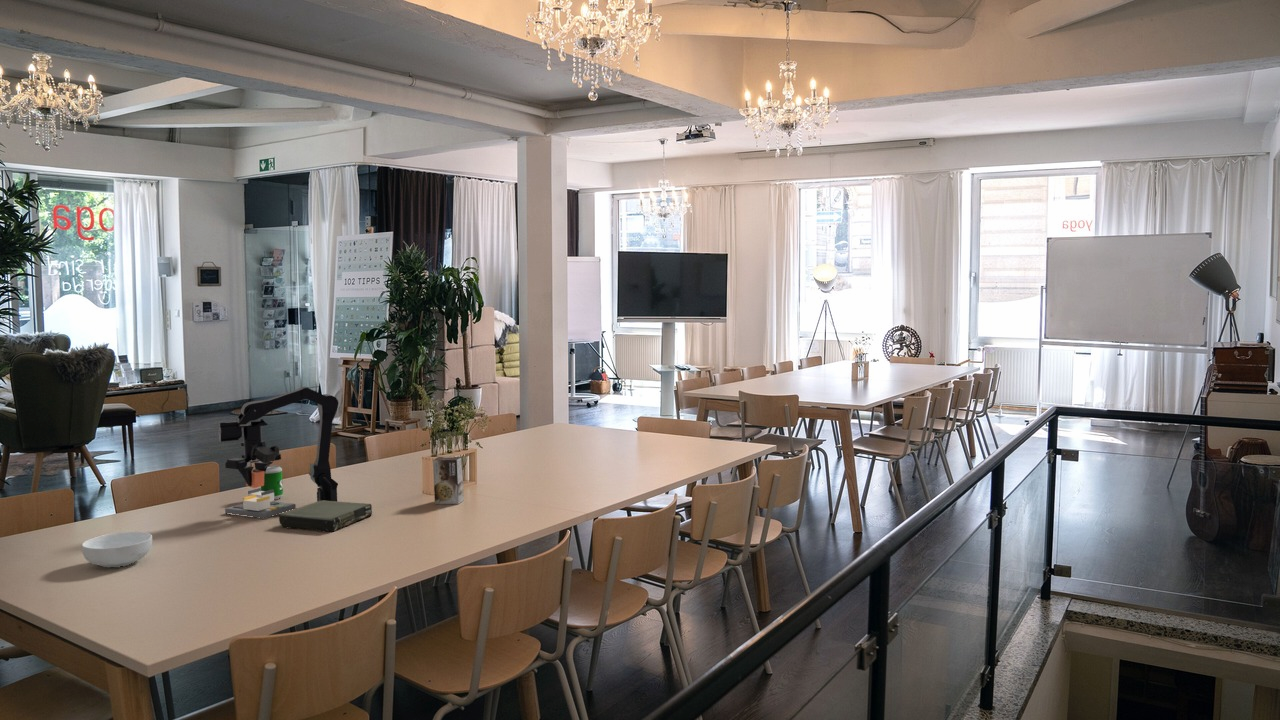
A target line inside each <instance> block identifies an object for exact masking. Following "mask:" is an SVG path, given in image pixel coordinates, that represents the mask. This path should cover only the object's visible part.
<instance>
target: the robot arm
mask: <svg viewBox="0 0 1280 720" xmlns="http://www.w3.org/2000/svg"><path fill="white" fill-rule="evenodd" d="M302 400H309V401H311V402H312V403H315V404H316V405H317V412H318V417H319V427H318V437H317V446H316V447H317V448H316V456H315V460H314V462H313V463H311V462H310V463H309V472H308V475H309V477H310V480H311V481H312V482H313V483H314V484H316V486H317V487H316V490H317V491H316V502H317V501H323V500H325V501H337V502H338V485H339V483H338V482H337V481H335V480H334V479H333V478H332V472H331V466H330V465H331V464H330V451H331V440H332V431H333V430H332V429H333V421H334V419H335V417H336V415H337V411H338V407H339V399H337V397H336V396H333V395H331V394H328V393H325V394H323V393H320V392H318V391H316V390H313V389H311V388H310V387H307V386H301V387H300V388H298V389H295V390H291V391H289V392H286V393H283V394H280V395H276V396H274V397H271V398H267V399H263V400H261V399H260V400H255V401H254V400H253V401H248V402H245V403H244V404H243V405H242V406H241V409H240V414H239V415H238V416H237V418H236V419H235V420H234V421H220V422H219V423H218V425H219V426H218V431H217V432H218V441H219V443H229V442H239V440H240V439H241V438H242V437H243V442H241V443H240V446H241V447H243V453H244V454H242V455H241V457H234V458H229V459H227V460H225V469H232V470H233V469H234V470H238V471H239V473H240V475H241V476H242V477H243V479H244V481H245V484H246V483H247V484H248V486H247V487H249V486H251V485H252V473H251V471H252V470H253V469H254V468H255V469H258V470H261V471H265V472H266V469H267V467H268V466H271V465H272V464H273V463H274V462H275V461H280V460H282V454H281V452H280V448H279V446H277V445H273V446H271V447H270V446H269V447H267V445H266V442H265V441H263V434H262V431H263V430H262V427H264V426H265V427H266V426H268V423H267V422H266V421H265V420H264V419H263V417H264V416H266V415H267V414H269V413H270V412H273V411H274V410H277V409H280V408H283V407H286V406H288V405H292V404H295V403H298V402H301V401H302ZM258 419H259V420H258ZM253 463H254V466H252V464H253ZM264 475H265V473H264Z"/></svg>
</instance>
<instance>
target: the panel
mask: <svg viewBox="0 0 1280 720" xmlns="http://www.w3.org/2000/svg"><path fill="white" fill-rule="evenodd" d="M292 509H296V503H291V502H281V501H276V500H274V501H272V502H270V508H267V509H263V510H260V511H255V510H247V509H243V503H240V504H236V505H232V506H229V507H225V508H224V512H225V513H232V514H239V515H247V516H253V517H260V518H265V519H267V518H266V517H269V516H272V515H275V516H277V515H276V514H279V513H282V512H286V511H289V510H292ZM279 515H280V514H279ZM272 517H273V516H272ZM260 518H259V519H260ZM269 518H270V517H269Z"/></svg>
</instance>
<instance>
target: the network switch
mask: <svg viewBox="0 0 1280 720" xmlns="http://www.w3.org/2000/svg"><path fill="white" fill-rule="evenodd" d="M372 509H373V507H372V504H371V503H365V502H364V503H361V502H351V501H350V502H347V501H338V500H337V501H325V500H323V501H317V500H316V501H315V502H311V503H308V504H305V505H302V506H299V507H297V508H296V509H293V510H290V511H287V512H284V513H282V514H279V515H278V523H279V524H280V525H281V526H282V527H283V528H285V527H288V528H287V529H295V528H299V529H298V530H306V529H308V530H307V531H314V530H317V531H316V532H323V531H327V532H326V533H334V532H336V530H338V529H342V528H343V527H346V526H349V525H352V524H353V523H356V522H358V521H360V520H362V519H365V518H367V517H368V516H369V518H370V517H372V516H373V515H372V514H373V511H372ZM333 531H334V532H333Z"/></svg>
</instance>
